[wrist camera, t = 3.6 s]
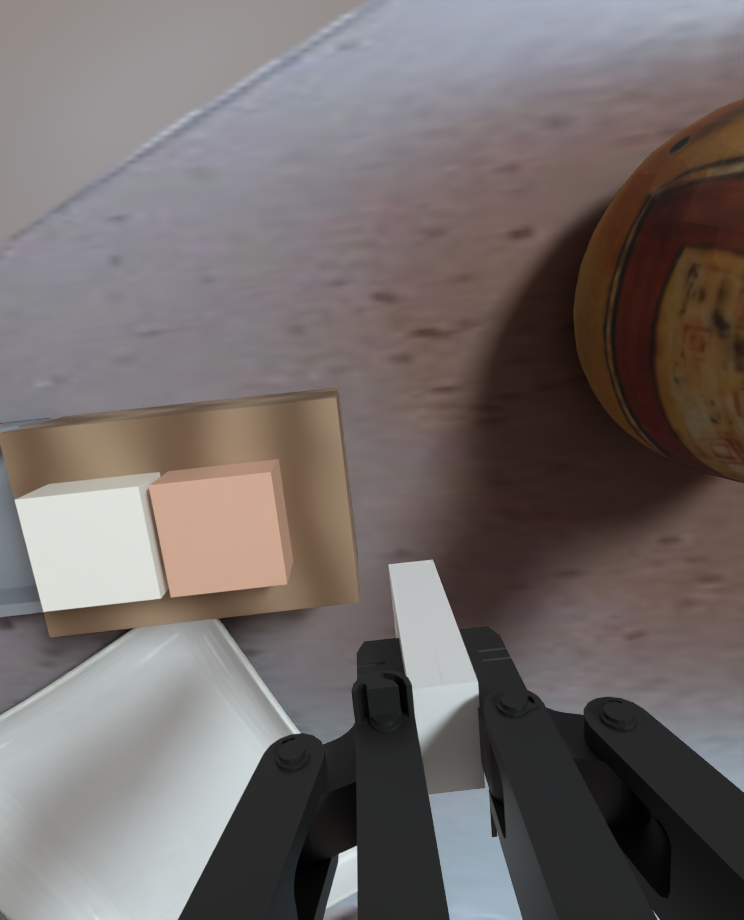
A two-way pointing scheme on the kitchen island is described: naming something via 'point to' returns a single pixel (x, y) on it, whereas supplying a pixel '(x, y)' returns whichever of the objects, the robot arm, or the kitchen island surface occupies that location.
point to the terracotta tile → (222, 528)
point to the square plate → (133, 776)
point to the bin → (14, 547)
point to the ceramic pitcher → (673, 299)
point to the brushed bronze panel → (204, 445)
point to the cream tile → (93, 542)
